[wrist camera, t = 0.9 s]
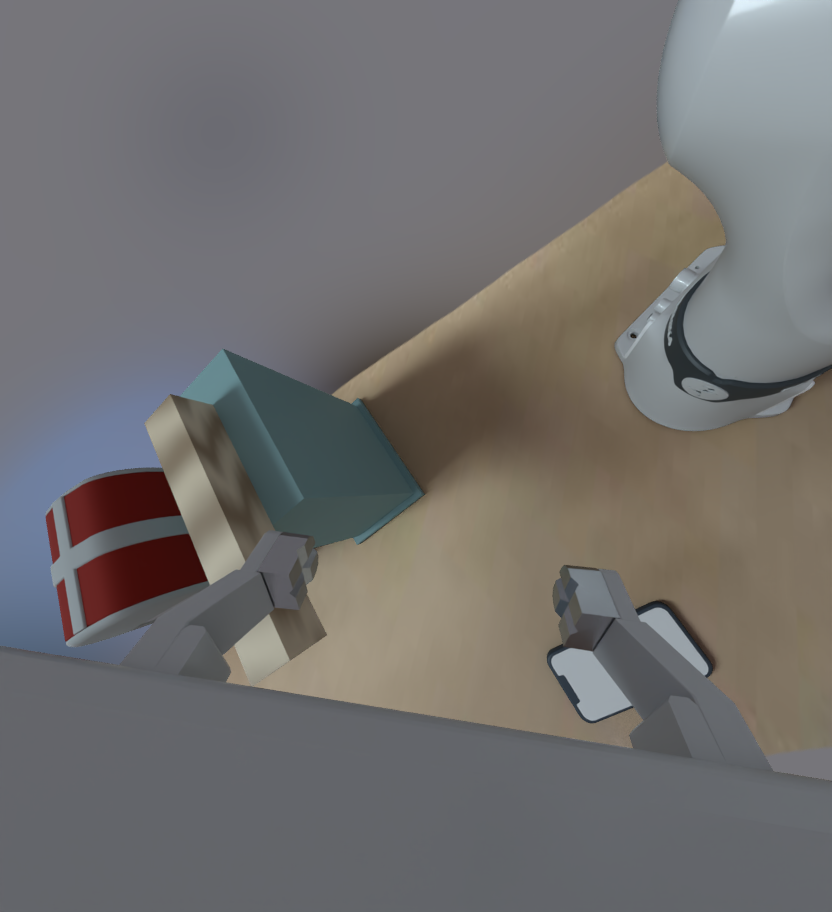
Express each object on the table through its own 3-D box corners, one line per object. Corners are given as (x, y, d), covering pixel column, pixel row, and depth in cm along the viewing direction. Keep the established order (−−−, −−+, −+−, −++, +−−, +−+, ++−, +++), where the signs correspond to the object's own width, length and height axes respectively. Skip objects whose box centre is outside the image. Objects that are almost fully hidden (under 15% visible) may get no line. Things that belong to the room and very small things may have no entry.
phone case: (658, 594, 40) (542, 650, 44) (663, 598, 38) (542, 656, 42) (713, 667, 37) (585, 720, 41) (720, 674, 36) (586, 728, 40)
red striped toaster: (273, 470, 62) (92, 460, 37) (305, 558, 58) (124, 613, 33) (216, 509, 67) (20, 522, 42) (241, 593, 63) (40, 664, 38)
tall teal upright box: (306, 449, 60) (145, 423, 36) (360, 399, 57) (225, 334, 33) (360, 543, 54) (213, 589, 30) (424, 494, 51) (317, 501, 27)
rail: (189, 430, 33) (144, 423, 30) (213, 404, 32) (170, 394, 29) (292, 658, 26) (251, 687, 23) (326, 634, 25) (289, 660, 22)
